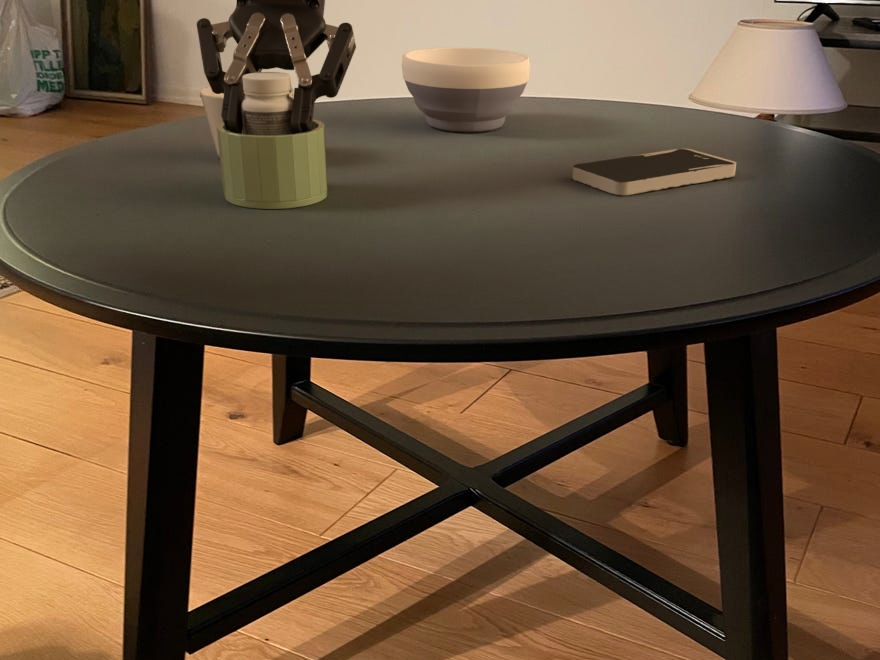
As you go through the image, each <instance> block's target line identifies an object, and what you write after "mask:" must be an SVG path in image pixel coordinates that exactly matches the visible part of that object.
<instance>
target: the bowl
mask: <svg viewBox="0 0 880 660" xmlns="http://www.w3.org/2000/svg"><path fill="white" fill-rule="evenodd" d="M530 71H531V62H530V57H529V56H528V55H526V54H525V53H524V54H523V53H522V52H519V51H518V52H517V51H511V50H506V49H497V48H485V47H482V48H481V47H454V46H453V47H432V48H421V49H415V50H411V51H407V52H405V53H404V54H403V55H402V59H401V73H402V79H403V80H404V83H405V85H406V88H407V90H408V92H409V93H410V94H411V96H412V97H413V100H414V105H416V107H417V108H418V110H419V111H420V112H422V113H423V114H424V117H425V121H426V122H427V124H428V126H430V127H432V128H433V129H436V130H440V131H443V132H451V133H465V134H466V133H472V134H473V133H474V134H475V133H485V132H491V131H494V130H495V131H496V130H498V129H499V128H501V127H502V126H503V125H504V124H505V121H506V116H507V115H509V114H510V113H511V112H512V111H513V110H514V109H515V108H516V107H517V102H518V100H519V98H520V97H521V96H522V95H523V93H524V92H525V89H526V86H527V84H528V82H529V79H530Z"/></svg>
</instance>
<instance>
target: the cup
mask: <svg viewBox="0 0 880 660" xmlns="http://www.w3.org/2000/svg"><path fill="white" fill-rule="evenodd" d="M217 134H218V144H219V154H220V157H219V163H220V172H221V181H222V183H221V184H222V189H223V190H222V191H223V195H224V200H226V202H228V203H230V204H232V205H235V206H238V207H241V208H247V209H257V210H284V209H285V210H286V209H293V208H296V209H297V208H302V207H307V206H311V205H314V204H318V203H320V202H322V201H325V199H326V198H327V197H328V187H329V184H328V183H329V182H328V168H327V167H328V166H327V148H326V147H327V146H326V129H325V123H323V121H320V120H318V119H314V118H313V121H312V128H311V130H310V131H308V132H304V133H297V134H290V135H275V136H258V135H245V134H243V128H242V134H238V133H232V132H230V131H229V130H227V129H226V127H225V124H224V122H223V123H220V124H219V125H218V126H217Z"/></svg>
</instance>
